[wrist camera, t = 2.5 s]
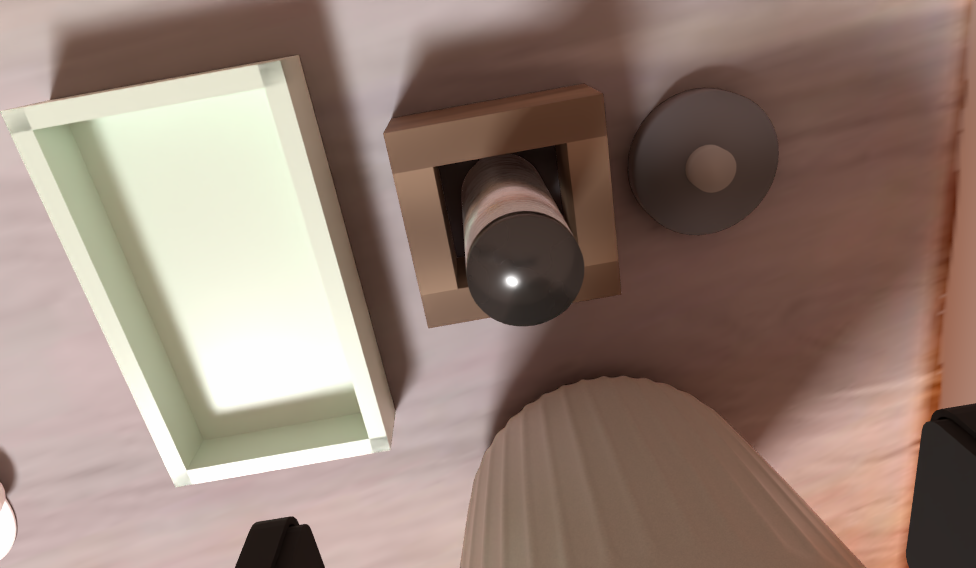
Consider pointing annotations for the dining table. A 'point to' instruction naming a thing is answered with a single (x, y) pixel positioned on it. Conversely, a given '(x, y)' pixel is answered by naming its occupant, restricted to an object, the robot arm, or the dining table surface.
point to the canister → (635, 489)
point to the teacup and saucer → (6, 525)
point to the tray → (216, 265)
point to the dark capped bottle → (517, 244)
